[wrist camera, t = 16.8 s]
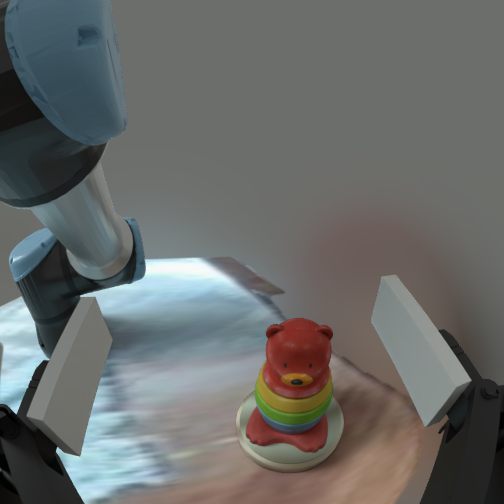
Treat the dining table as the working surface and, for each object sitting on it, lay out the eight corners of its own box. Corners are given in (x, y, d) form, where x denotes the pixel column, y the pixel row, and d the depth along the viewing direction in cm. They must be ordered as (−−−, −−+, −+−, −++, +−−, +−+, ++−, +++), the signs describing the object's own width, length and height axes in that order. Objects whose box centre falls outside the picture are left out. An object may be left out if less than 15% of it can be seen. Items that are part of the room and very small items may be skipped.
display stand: (227, 400, 42) (225, 390, 41) (317, 378, 45) (319, 367, 44) (252, 485, 30) (252, 479, 28) (356, 451, 33) (362, 443, 31)
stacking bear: (242, 443, 33) (230, 361, 24) (259, 386, 41) (256, 292, 33) (324, 455, 31) (357, 377, 22) (331, 395, 39) (355, 302, 30)
